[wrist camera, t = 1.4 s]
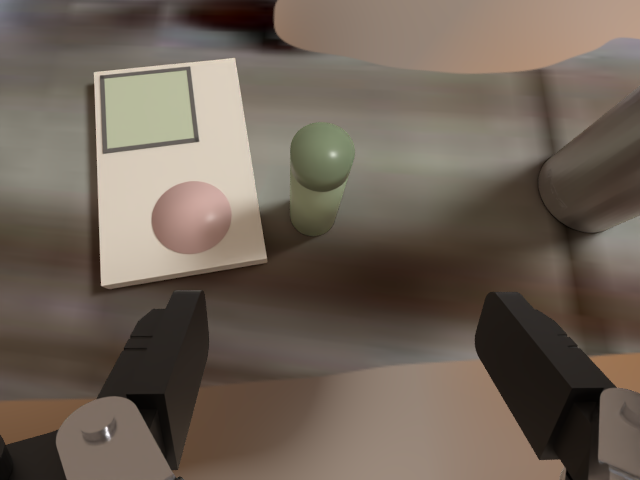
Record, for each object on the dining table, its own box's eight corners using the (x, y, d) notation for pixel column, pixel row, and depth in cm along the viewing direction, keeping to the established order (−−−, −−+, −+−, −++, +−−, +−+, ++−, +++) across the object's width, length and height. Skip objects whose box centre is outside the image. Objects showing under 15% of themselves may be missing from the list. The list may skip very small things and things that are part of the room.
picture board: (236, 68, 43) (234, 57, 42) (267, 262, 37) (266, 258, 35) (100, 82, 41) (93, 71, 40) (108, 289, 35) (100, 285, 33)
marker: (330, 190, 40) (347, 118, 28) (339, 232, 38) (361, 174, 27) (286, 197, 39) (285, 126, 28) (294, 239, 38) (296, 183, 26)
